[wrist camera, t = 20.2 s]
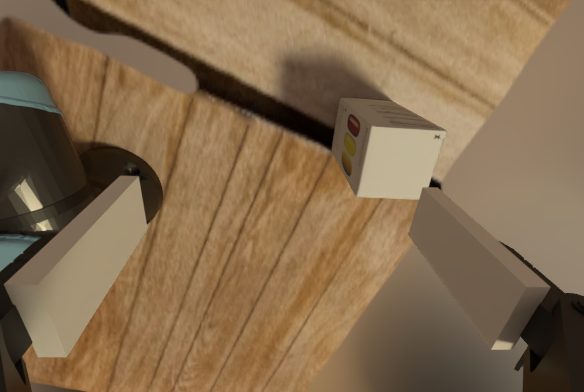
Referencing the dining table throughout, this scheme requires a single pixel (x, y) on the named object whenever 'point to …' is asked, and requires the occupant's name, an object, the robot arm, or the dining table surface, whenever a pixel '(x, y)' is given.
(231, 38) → the dining table surface
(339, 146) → the supplement box
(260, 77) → the dining table surface
